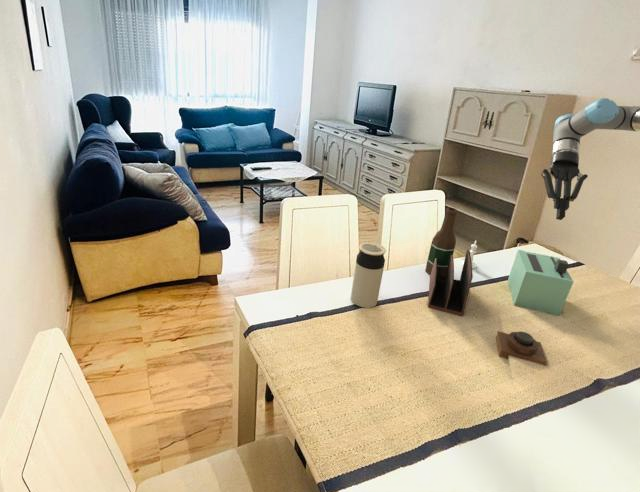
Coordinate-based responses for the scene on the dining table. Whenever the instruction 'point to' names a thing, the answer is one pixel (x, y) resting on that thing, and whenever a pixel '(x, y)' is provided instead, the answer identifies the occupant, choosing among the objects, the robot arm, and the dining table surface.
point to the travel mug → (368, 274)
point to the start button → (524, 338)
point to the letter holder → (450, 287)
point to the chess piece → (472, 254)
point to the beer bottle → (443, 244)
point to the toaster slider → (561, 266)
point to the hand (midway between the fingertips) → (560, 217)
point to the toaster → (538, 283)
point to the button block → (519, 348)
